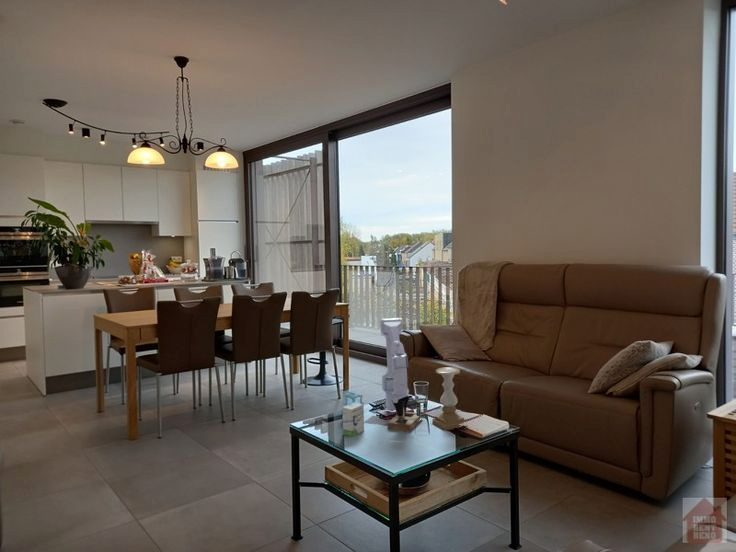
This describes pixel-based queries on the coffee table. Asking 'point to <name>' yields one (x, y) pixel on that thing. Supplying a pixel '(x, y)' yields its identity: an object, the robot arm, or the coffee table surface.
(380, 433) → the coffee table surface
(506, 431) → the coffee table surface
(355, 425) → the ink box
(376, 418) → the mat
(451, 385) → the candle holder
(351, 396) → the chair
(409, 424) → the block
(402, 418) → the peg
